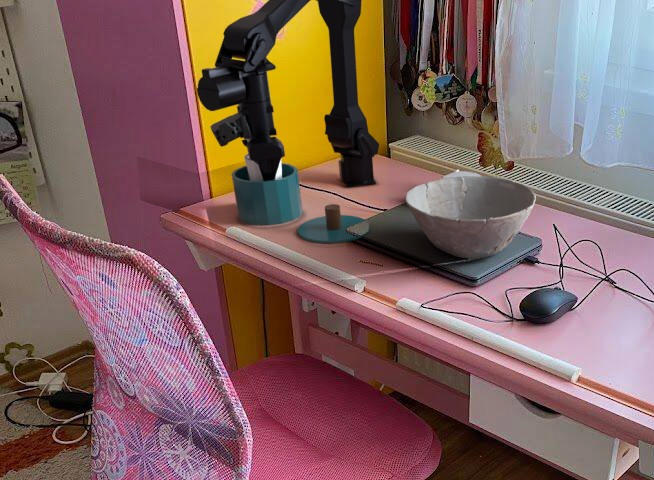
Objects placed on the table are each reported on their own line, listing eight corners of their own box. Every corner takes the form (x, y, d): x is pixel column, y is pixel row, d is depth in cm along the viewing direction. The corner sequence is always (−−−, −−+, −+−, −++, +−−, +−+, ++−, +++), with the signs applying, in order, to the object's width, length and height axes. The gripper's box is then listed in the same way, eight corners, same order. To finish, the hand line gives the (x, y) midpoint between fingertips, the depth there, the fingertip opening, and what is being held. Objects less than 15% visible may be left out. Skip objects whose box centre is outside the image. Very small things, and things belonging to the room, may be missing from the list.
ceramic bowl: (442, 220, 166) (440, 169, 160) (553, 239, 157) (555, 185, 152) (382, 262, 149) (379, 206, 144) (503, 285, 140) (504, 226, 135)
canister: (296, 203, 175) (291, 159, 170) (307, 223, 165) (302, 177, 160) (235, 210, 172) (228, 166, 167) (243, 231, 162) (235, 185, 157)
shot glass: (292, 187, 167) (287, 151, 164) (274, 198, 162) (269, 161, 158) (261, 184, 169) (256, 148, 166) (242, 195, 164) (236, 158, 160)
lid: (361, 216, 168) (359, 191, 165) (378, 240, 157) (376, 214, 155) (293, 225, 164) (289, 199, 162) (305, 250, 154) (302, 223, 151)
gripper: (204, 92, 162) (219, 174, 170) (214, 115, 147) (229, 204, 155) (264, 87, 165) (275, 167, 173) (279, 109, 150) (290, 196, 158)
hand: (266, 183), depth 165 cm, fingers closed on shot glass, 6 cm apart
